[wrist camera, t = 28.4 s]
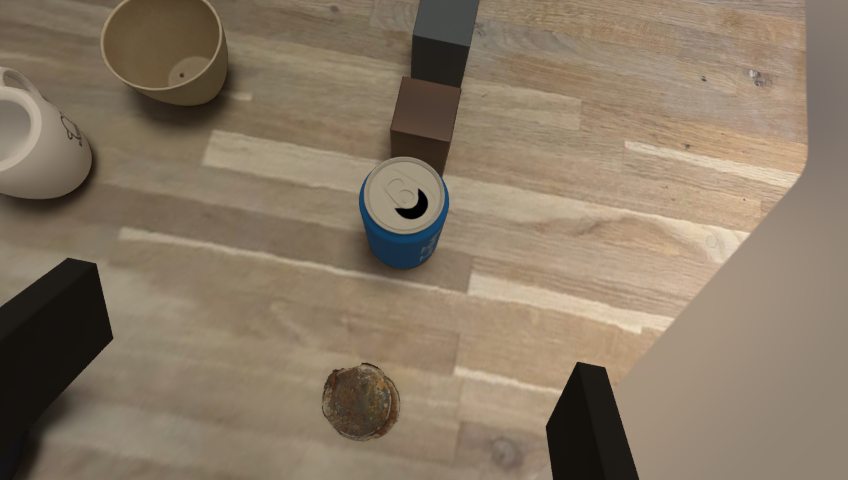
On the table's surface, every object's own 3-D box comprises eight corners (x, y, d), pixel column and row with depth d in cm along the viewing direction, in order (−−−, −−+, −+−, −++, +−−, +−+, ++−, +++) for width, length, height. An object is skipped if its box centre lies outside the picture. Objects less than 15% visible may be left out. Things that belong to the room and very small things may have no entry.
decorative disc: (330, 449, 40) (328, 452, 39) (316, 373, 41) (314, 374, 40) (406, 430, 40) (406, 431, 40) (390, 355, 42) (390, 355, 41)
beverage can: (399, 284, 43) (399, 259, 32) (354, 232, 44) (338, 189, 33) (451, 239, 45) (470, 199, 33) (406, 189, 46) (408, 133, 34)
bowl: (160, 31, 48) (120, -24, 41) (258, 47, 48) (234, -4, 41) (130, 119, 46) (82, 78, 39) (233, 137, 46) (204, 98, 39)
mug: (114, 195, 44) (54, 162, 36) (18, 221, 43) (-65, 193, 35) (92, 83, 46) (31, 30, 39) (0, 106, 45) (-80, 56, 38)
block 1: (458, 96, 48) (470, 46, 40) (410, 86, 48) (412, 34, 40) (467, 53, 49) (479, -3, 42) (419, 43, 49) (423, -14, 42)
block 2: (442, 177, 46) (450, 142, 38) (391, 167, 46) (389, 129, 38) (451, 131, 47) (461, 87, 39) (402, 121, 47) (402, 75, 39)
